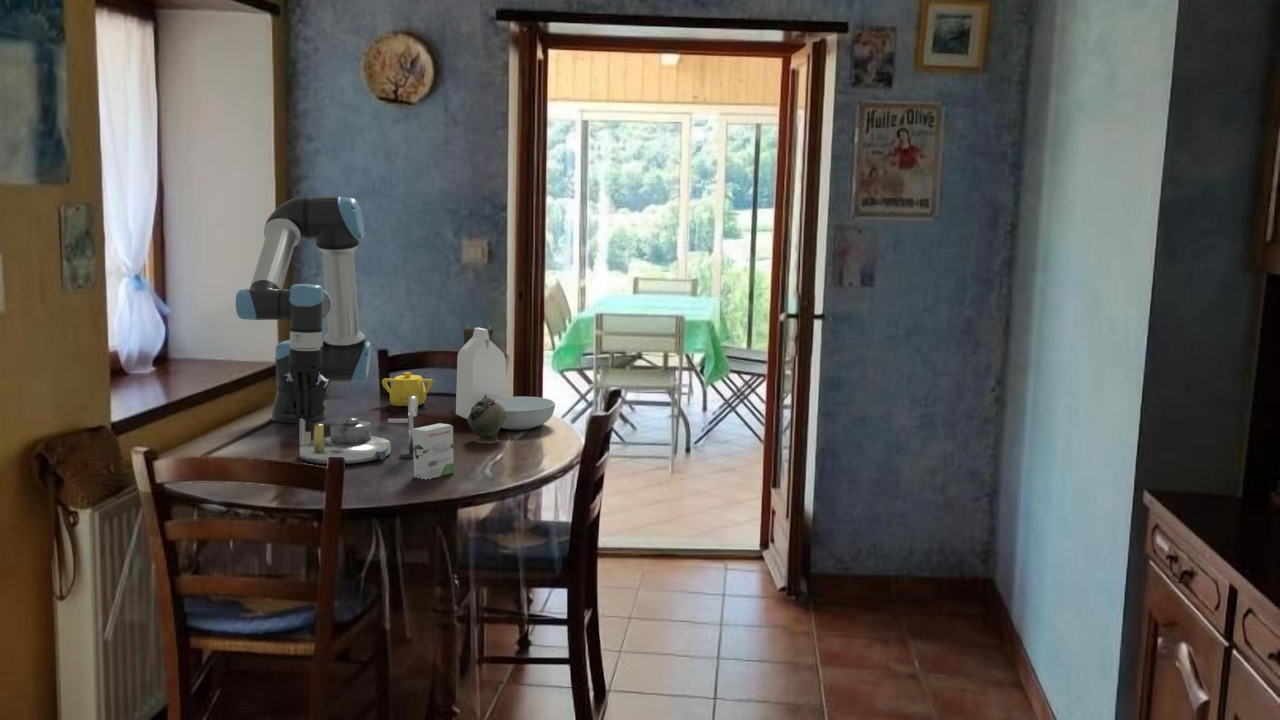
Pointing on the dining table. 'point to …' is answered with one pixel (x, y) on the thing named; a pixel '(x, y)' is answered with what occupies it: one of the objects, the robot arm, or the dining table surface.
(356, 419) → the cover
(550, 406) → the serving bowl
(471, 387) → the milk
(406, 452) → the rod on square base
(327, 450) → the turntable
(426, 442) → the ink box
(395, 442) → the dining table surface
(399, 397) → the teapot
